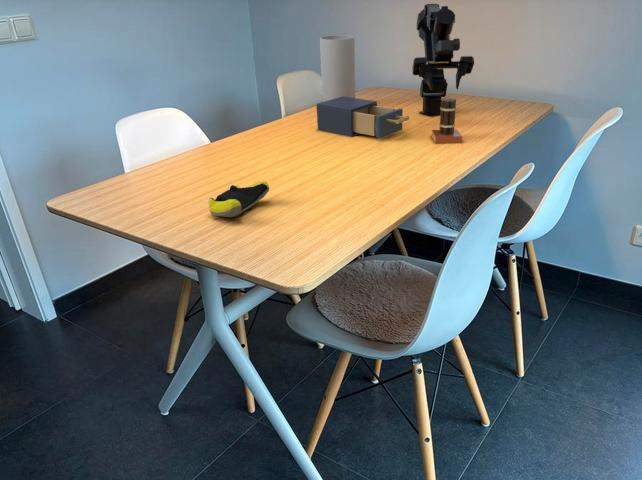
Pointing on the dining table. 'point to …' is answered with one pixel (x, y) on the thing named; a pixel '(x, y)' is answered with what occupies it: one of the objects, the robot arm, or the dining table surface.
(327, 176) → the dining table surface
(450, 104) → the bundle
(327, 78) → the cylinder vase
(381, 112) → the drawer
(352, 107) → the cabinet
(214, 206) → the black and yellow sneaker
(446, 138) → the stand
